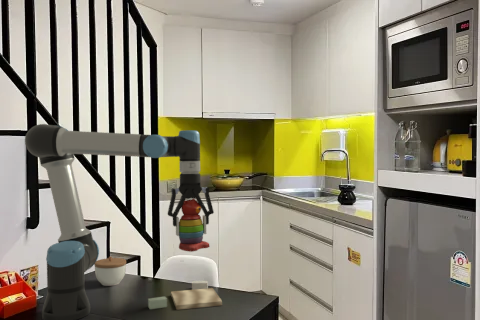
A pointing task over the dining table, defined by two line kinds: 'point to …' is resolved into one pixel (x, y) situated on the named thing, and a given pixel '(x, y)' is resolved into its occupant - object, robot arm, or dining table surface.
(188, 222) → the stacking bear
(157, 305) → the sage brick
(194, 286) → the grey brick
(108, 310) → the dining table surface
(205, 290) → the birch board
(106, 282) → the lidded bowl
